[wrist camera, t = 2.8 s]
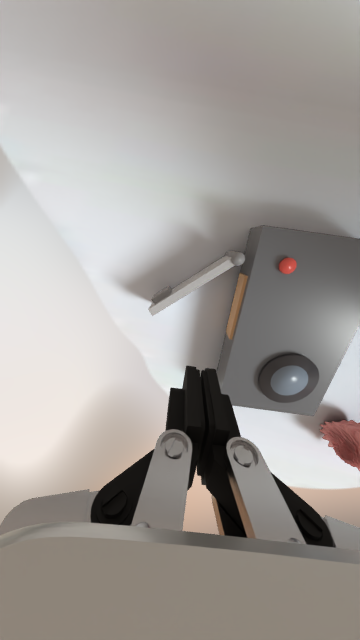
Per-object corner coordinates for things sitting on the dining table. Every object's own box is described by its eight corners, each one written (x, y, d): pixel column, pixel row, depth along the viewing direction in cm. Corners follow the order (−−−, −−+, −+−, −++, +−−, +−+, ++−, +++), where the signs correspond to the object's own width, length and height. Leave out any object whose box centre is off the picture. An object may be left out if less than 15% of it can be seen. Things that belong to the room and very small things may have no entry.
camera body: (363, 244, 21) (406, 244, 17) (298, 394, 28) (316, 420, 24) (247, 228, 21) (262, 224, 17) (211, 382, 28) (215, 406, 24)
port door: (237, 258, 22) (247, 261, 18) (158, 307, 24) (153, 317, 21) (230, 244, 21) (239, 245, 18) (151, 296, 24) (144, 305, 20)
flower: (423, 450, 23) (405, 487, 21) (377, 463, 29) (360, 493, 27) (348, 397, 28) (328, 422, 26) (322, 417, 33) (303, 439, 31)
